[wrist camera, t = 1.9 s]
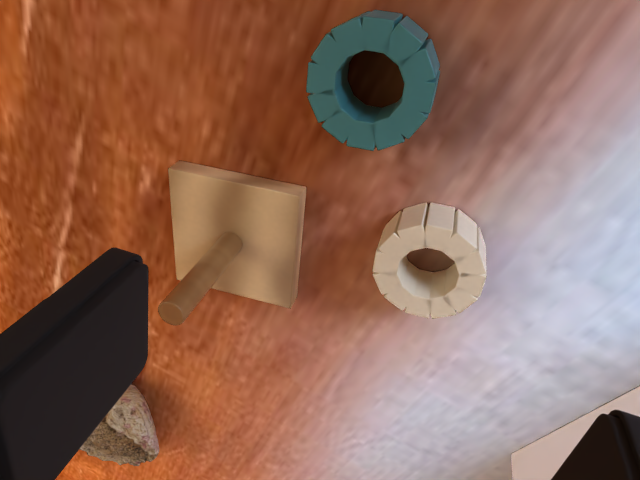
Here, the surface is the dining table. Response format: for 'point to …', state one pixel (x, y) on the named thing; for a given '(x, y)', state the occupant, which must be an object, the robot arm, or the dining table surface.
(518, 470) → the tissue box
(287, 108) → the dining table surface
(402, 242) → the ivory notched ring
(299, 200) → the stand
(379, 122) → the teal grooved ring
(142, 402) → the grey rough lump
